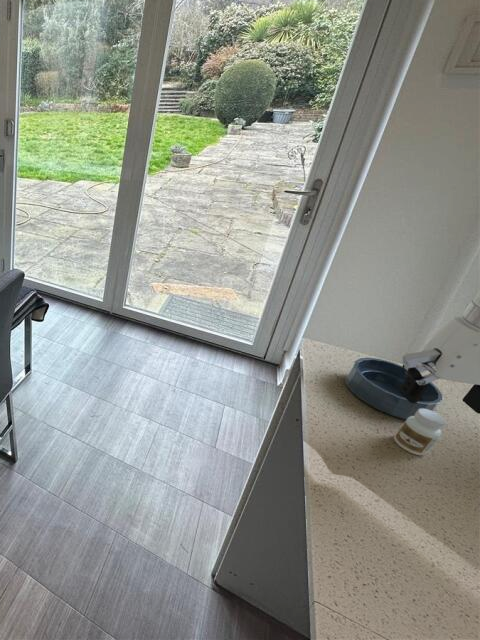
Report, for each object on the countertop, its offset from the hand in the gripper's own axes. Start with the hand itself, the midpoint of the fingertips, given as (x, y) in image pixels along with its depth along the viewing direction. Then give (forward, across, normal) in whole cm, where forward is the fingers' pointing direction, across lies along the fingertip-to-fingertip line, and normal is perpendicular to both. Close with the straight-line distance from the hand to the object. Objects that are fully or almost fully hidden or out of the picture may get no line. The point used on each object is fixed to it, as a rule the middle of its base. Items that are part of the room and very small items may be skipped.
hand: (438, 402), depth 70 cm
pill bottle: (+11, -1, 0) cm, 11 cm away
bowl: (+11, -5, -13) cm, 18 cm away
